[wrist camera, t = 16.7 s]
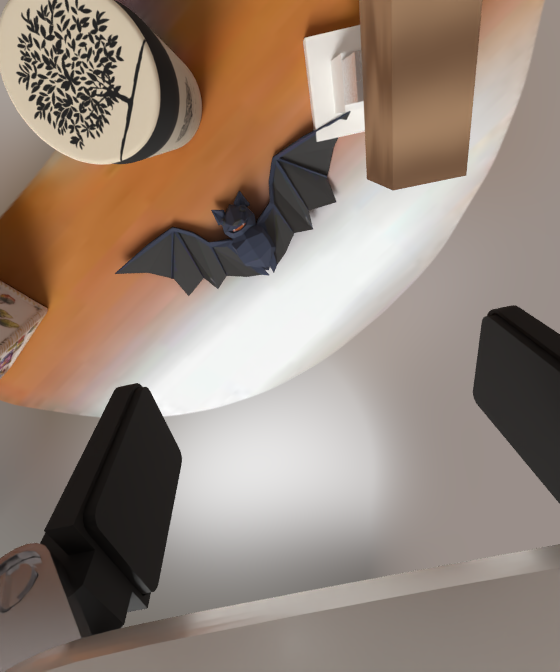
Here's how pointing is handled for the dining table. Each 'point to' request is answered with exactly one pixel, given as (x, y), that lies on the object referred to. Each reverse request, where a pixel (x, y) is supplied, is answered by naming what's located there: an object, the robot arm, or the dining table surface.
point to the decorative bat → (248, 223)
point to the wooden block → (418, 88)
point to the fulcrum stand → (335, 81)
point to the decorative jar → (16, 323)
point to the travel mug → (96, 80)
